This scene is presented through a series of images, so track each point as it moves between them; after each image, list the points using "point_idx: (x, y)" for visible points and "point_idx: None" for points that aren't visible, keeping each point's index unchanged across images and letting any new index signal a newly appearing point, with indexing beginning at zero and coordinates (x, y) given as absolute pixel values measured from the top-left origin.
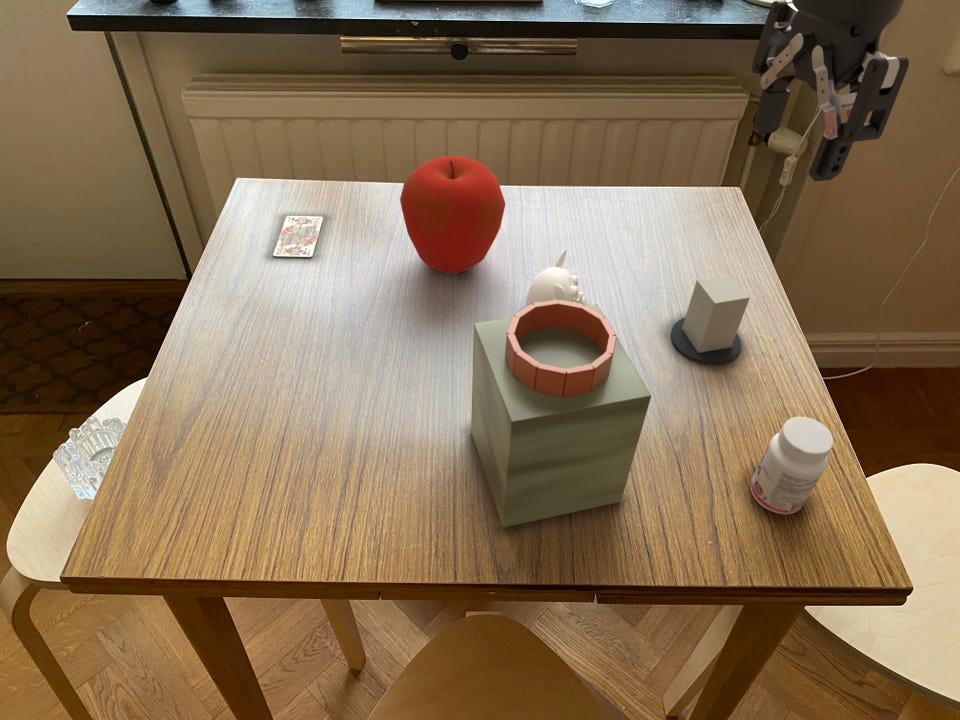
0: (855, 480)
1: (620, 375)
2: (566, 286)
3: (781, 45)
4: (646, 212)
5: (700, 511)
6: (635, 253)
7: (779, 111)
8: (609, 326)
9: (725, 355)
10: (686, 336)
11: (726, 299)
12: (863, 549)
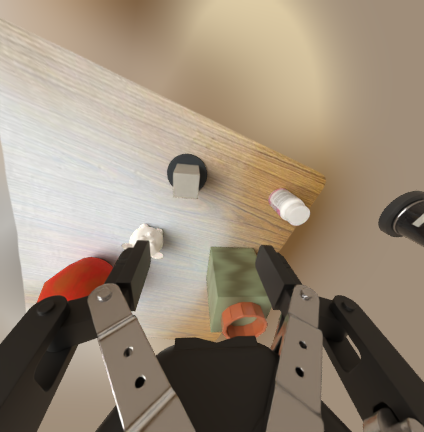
0: (292, 160)
1: (261, 301)
2: (151, 250)
3: (35, 384)
4: (30, 133)
5: (269, 227)
6: (94, 170)
7: (141, 264)
8: (249, 315)
9: (203, 172)
10: None
11: (196, 190)
12: (313, 181)
